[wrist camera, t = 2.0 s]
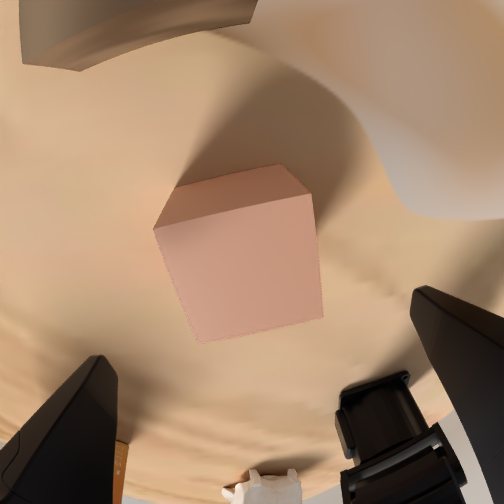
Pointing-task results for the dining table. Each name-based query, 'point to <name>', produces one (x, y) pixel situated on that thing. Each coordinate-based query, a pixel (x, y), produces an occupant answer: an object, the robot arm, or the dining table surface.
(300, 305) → the terracotta cube
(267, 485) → the white animal figurine
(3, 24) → the dining table surface
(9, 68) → the dining table surface
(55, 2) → the walnut block
